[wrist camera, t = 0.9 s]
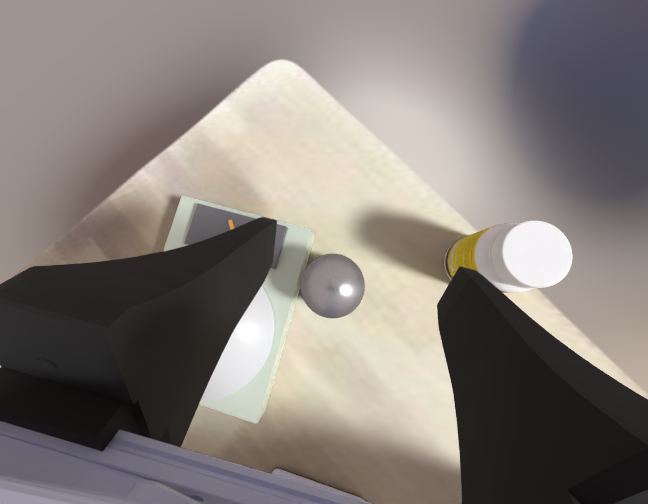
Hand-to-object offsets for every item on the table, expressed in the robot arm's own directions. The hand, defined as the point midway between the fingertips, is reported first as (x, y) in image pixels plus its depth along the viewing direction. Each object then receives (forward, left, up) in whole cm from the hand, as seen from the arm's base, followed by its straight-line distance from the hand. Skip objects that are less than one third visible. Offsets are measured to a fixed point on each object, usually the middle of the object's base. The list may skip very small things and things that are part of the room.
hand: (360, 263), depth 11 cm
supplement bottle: (+4, -10, -14) cm, 18 cm away
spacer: (-1, +1, -14) cm, 14 cm away
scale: (-5, +10, -14) cm, 18 cm away
